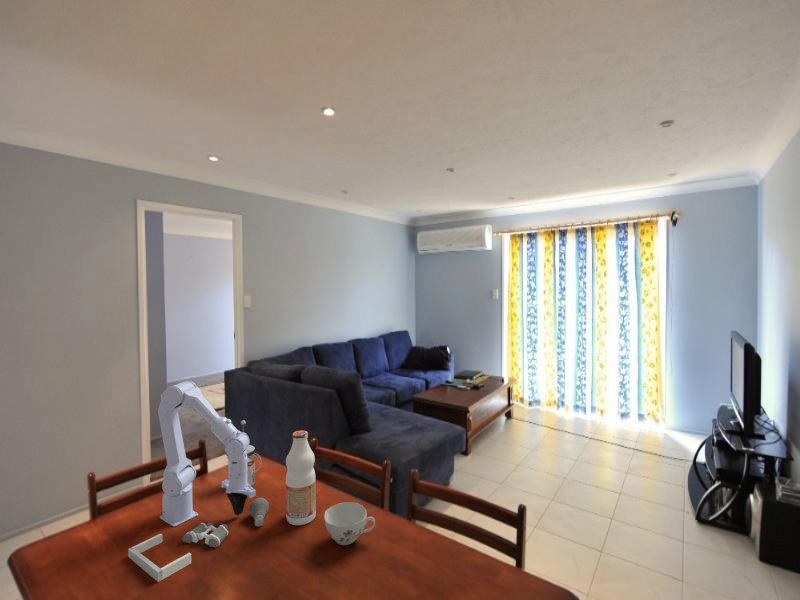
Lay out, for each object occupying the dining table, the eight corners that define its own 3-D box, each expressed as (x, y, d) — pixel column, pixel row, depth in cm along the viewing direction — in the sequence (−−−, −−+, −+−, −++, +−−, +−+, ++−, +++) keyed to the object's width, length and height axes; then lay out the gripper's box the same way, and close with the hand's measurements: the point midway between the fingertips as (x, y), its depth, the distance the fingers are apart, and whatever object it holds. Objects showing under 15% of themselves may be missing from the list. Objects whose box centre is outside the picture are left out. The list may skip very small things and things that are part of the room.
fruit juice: (296, 529, 122) (295, 440, 122) (280, 518, 129) (279, 433, 128) (321, 517, 129) (320, 432, 129) (305, 507, 135) (304, 425, 135)
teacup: (319, 552, 111) (319, 524, 111) (329, 526, 124) (329, 501, 124) (373, 553, 111) (372, 525, 111) (377, 527, 123) (376, 502, 123)
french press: (238, 478, 157) (237, 416, 157) (266, 479, 156) (265, 416, 156) (225, 490, 147) (224, 424, 147) (254, 492, 146) (253, 425, 146)
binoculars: (181, 544, 116) (181, 532, 116) (200, 528, 124) (200, 517, 124) (217, 549, 114) (217, 537, 114) (234, 533, 122) (234, 521, 121)
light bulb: (262, 512, 122) (262, 490, 132) (245, 524, 122) (246, 500, 131) (272, 524, 125) (272, 501, 134) (255, 535, 124) (256, 511, 133)
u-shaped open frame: (128, 557, 110) (128, 549, 110) (160, 541, 117) (160, 533, 117) (158, 582, 100) (158, 572, 100) (191, 563, 107) (191, 553, 107)
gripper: (213, 472, 129) (213, 513, 129) (242, 482, 122) (242, 526, 122) (231, 464, 135) (232, 503, 135) (260, 473, 128) (261, 515, 128)
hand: (238, 513), depth 129 cm, fingers closed
